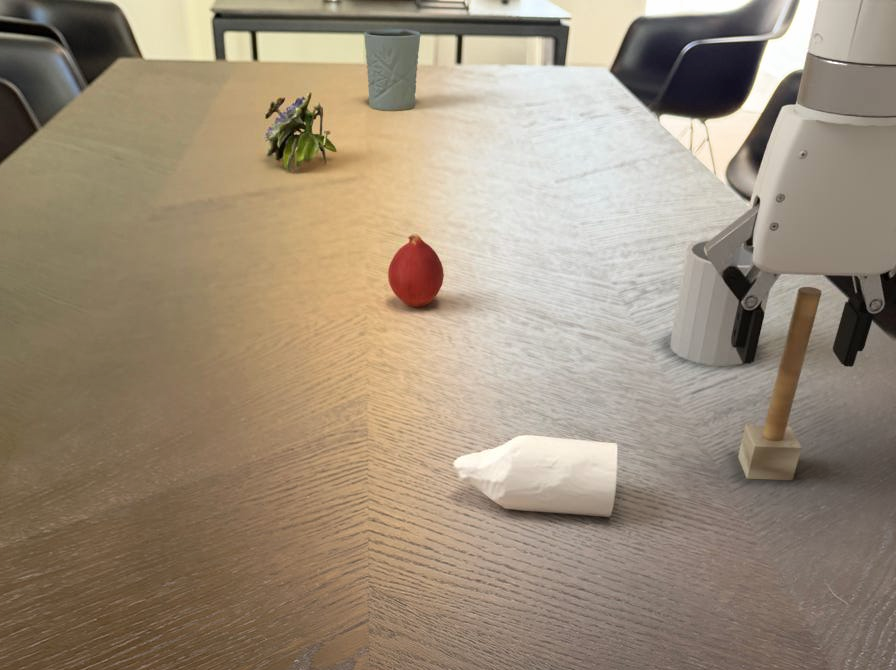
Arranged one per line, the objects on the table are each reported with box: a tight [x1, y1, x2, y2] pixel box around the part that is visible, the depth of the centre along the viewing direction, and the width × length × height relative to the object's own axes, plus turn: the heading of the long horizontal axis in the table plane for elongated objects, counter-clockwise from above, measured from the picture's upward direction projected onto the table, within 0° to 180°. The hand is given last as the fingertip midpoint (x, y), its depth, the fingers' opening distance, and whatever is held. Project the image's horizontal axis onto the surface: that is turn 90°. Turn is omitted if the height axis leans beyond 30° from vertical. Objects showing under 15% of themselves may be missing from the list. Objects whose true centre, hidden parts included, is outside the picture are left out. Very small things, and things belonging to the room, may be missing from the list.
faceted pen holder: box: [669, 238, 771, 367], centre depth 97 cm, size 8×8×10 cm
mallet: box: [737, 286, 822, 481], centre depth 76 cm, size 4×4×15 cm
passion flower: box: [264, 91, 337, 173], centre depth 154 cm, size 11×11×12 cm
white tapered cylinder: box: [453, 434, 619, 518], centre depth 75 cm, size 6×12×6 cm, turn 83°
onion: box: [387, 233, 445, 308], centre depth 106 cm, size 6×6×8 cm
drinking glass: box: [363, 28, 421, 112], centre depth 185 cm, size 10×10×12 cm
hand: (793, 355), depth 75 cm, fingers open, 6 cm apart
